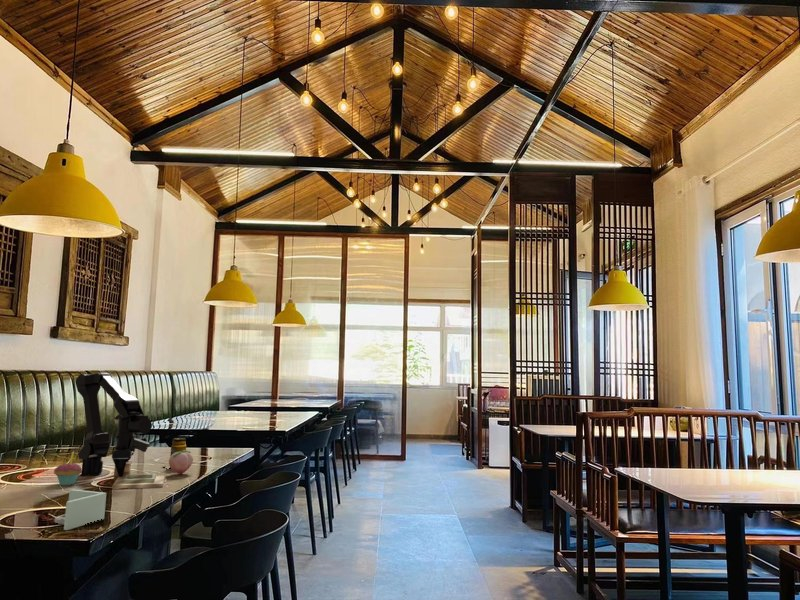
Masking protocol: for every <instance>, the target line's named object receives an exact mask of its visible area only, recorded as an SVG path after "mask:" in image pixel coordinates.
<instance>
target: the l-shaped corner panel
mask: <svg viewBox="0 0 800 600" xmlns="http://www.w3.org/2000/svg"><path fill="white" fill-rule="evenodd" d="M106 502H107V492H101V491H91V490H81V489H69V494H68V500H67V501H66V504H65V513H64V514H61V515H58V516H55V517H54V520H53V521H54V523H55V524H56V523H58V524H57V525H60V524H62V525H63V530H64V531H68V530H72V529H75V528H78V527H82V526H86V525H88V524H87V523H89V524H91V523H90V522H92V523H94V521H95V522H98V521H97V520H99V521H102V520H105V513H106V504H107V503H106ZM101 519H102V520H101ZM85 524H86V525H85Z"/></svg>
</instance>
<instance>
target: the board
mask: <svg viewBox="0 0 800 600" xmlns="http://www.w3.org/2000/svg"><path fill="white" fill-rule="evenodd" d="M165 479H166V475H157V473H146V474H145V473H144V474H139V473H138V474H137V473H136V474H130V475H126V477H118V478H117V480H114V482H113V484H112V486H111V487H112V488H111V489H112V490H119V489H118V488H128V489H146V488H148V489H150V488H163V487H164V484H165Z"/></svg>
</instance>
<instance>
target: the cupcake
mask: <svg viewBox="0 0 800 600" xmlns="http://www.w3.org/2000/svg"><path fill="white" fill-rule="evenodd" d="M74 455H75V450H74V449H73V451H71V457H70V461H69V463H63V464H60V465H58V466H57V467H56V468H55V469H54V470H53V475H55V476H56V477H57V481H58V484H59V485H60V486H70V485H71V484H72V485H75V484H76V481H77V480H78V477H79V476H80V474H81V472H82V466H80V465H79V464H77V463H73V460H74Z"/></svg>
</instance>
